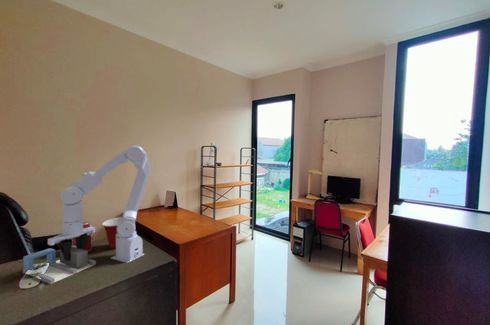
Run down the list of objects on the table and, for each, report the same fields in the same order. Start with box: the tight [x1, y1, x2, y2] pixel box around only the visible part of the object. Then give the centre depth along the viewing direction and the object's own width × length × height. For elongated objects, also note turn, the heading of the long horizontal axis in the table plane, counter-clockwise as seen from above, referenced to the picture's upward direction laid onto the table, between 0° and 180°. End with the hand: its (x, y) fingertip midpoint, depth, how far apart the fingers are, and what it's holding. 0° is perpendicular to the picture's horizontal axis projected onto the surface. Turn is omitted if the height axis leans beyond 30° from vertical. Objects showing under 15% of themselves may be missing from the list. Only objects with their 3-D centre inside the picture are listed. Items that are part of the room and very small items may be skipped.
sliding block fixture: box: [22, 248, 97, 285], centre depth 80 cm, size 16×14×6 cm
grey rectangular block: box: [59, 246, 89, 267], centre depth 82 cm, size 10×4×4 cm, turn 67°
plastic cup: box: [101, 217, 120, 250], centre depth 100 cm, size 11×11×12 cm
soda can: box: [71, 220, 93, 252], centre depth 95 cm, size 7×7×12 cm
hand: (73, 257), depth 82 cm, fingers closed on grey rectangular block, 3 cm apart
